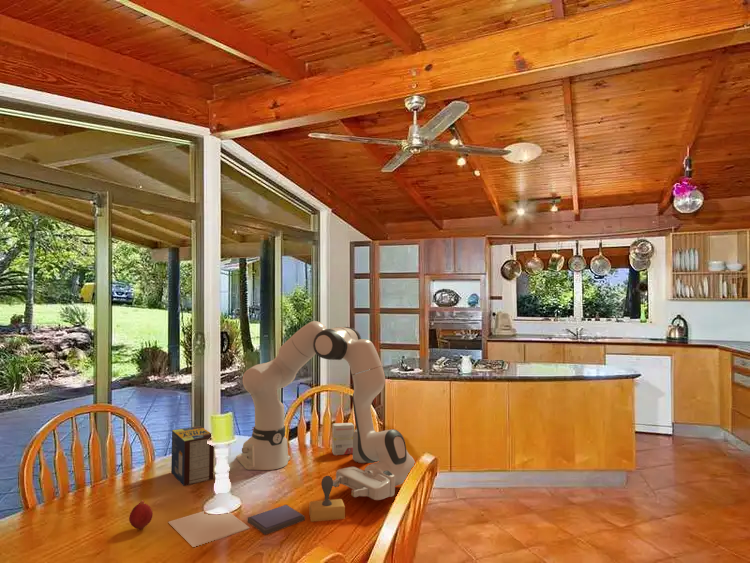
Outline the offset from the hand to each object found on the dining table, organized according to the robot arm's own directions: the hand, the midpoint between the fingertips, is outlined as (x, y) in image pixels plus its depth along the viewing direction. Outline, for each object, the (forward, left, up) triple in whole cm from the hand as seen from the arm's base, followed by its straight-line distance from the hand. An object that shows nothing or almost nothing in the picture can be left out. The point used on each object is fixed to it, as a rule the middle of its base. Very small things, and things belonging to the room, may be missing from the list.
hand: (342, 488), depth 150 cm
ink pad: (-7, -19, -6) cm, 21 cm away
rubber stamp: (0, -6, -7) cm, 9 cm away
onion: (-27, -50, -7) cm, 57 cm away
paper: (-17, -35, -6) cm, 39 cm away
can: (-29, +33, -7) cm, 44 cm away
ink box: (-41, +33, -7) cm, 53 cm away
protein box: (-56, -24, -7) cm, 61 cm away
